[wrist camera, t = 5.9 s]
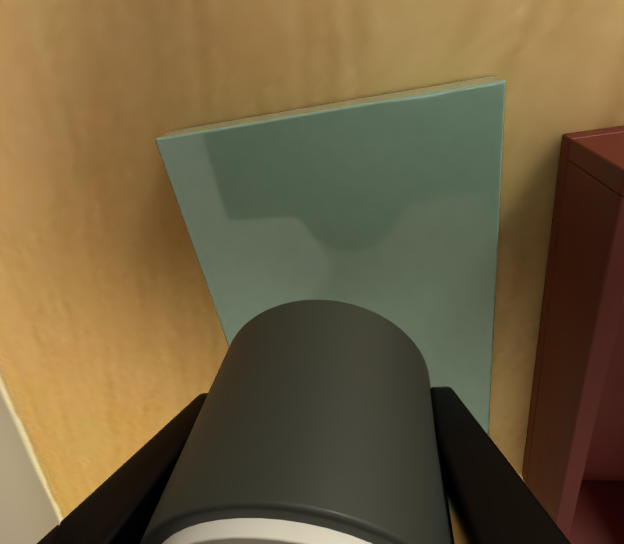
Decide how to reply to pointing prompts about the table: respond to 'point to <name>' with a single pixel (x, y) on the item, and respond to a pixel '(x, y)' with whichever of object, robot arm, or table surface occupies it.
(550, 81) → the table surface
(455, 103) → the plate
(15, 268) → the table surface
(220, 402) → the cylinder
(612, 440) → the sushi box
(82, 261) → the table surface
